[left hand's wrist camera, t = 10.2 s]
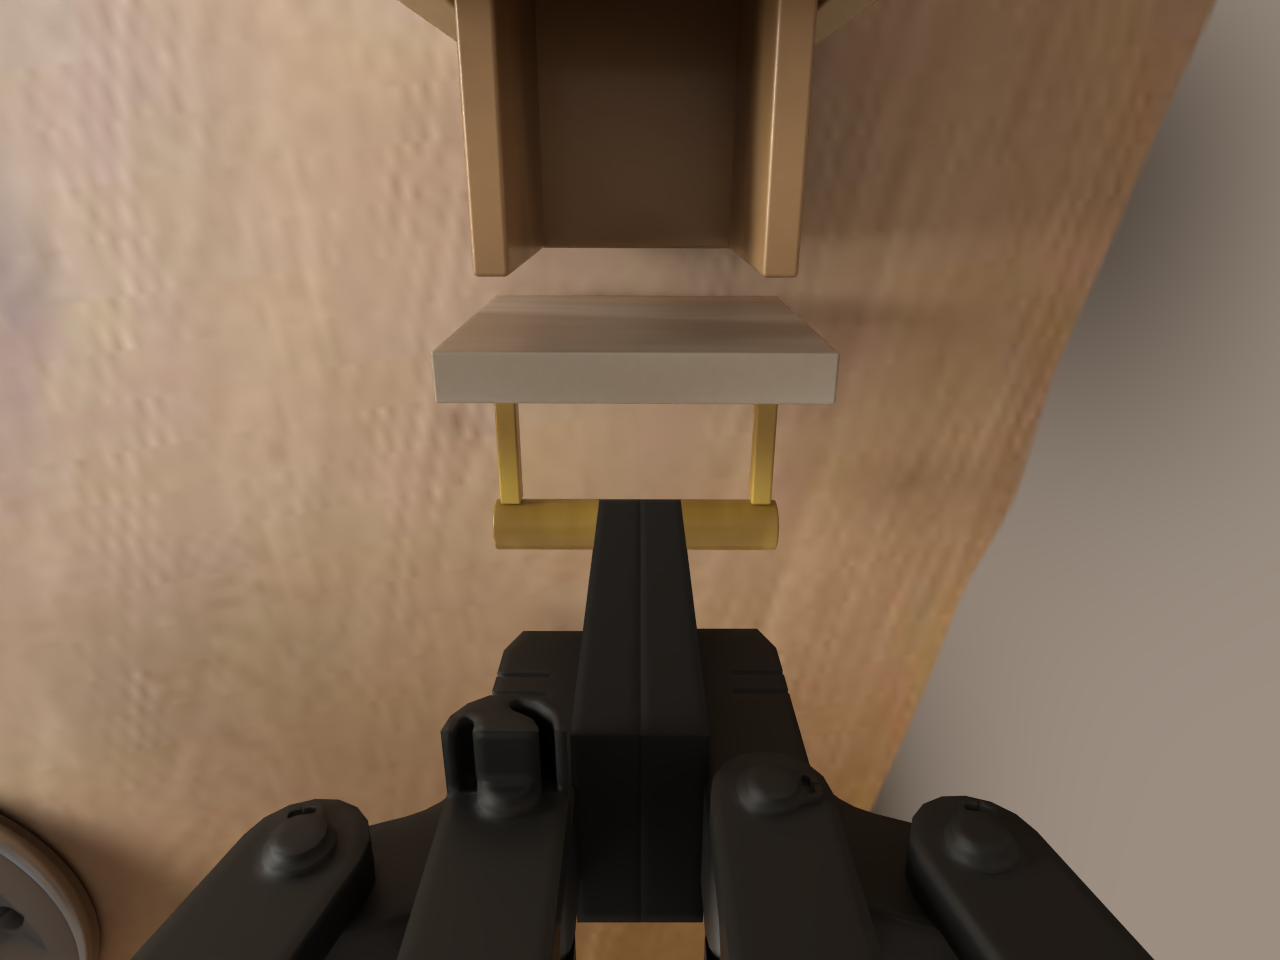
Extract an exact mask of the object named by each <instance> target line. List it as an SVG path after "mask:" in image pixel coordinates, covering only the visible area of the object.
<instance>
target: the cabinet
mask: <svg viewBox="0 0 1280 960" xmlns="http://www.w3.org/2000/svg"><path fill="white" fill-rule="evenodd" d="M398 1H399V2H401V3H402V4H403V5H405V6H406V7H408V8H409V9H411V10H412V11H413V12H415V13H416V14H418V15H419V16H421V17H422V18H423V19H425V20H426V21H428V22H429V23H431V24H432V25H433V26H435V27H436V28H438V29H439V30H441V31H442V32H443V33H445V34H446V35H448V36H449V37H451V38H452V39H453V40H455V41H456V42H457V36H456V22H455V8H454V0H398ZM876 1H878V0H818V7H817V21H816V35H815V45H816V44H817V43H819V42H820V41H822V40H823V39H824V38H826V37H827V36H829V35H830V34H831V33H833V32H834V31H836V30H837V29H838V28H840V27H841V26H843V25H844V24H845V23H847V22H848V21H850V20H851V19H852V18H854V17H855V16H857V15H858V14H859V13H861V12H862V11H864V10H865V9H866V8H868V7H869V6H871V5H872V4H873V3H875V2H876Z"/></svg>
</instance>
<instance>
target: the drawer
mask: <svg viewBox="0 0 1280 960" xmlns="http://www.w3.org/2000/svg"><path fill="white" fill-rule="evenodd" d="M817 7H818V0H454V8H455V22H456V36H457V51H458V65H459V79H460V93H461V107H462V121H463V135H464V149H465V164H466V178H467V192H468V206H469V220H470V234H471V248H472V263H473V273H474V275H476V276H507V275H509V274H510V273H512V272H513V271H514V270H515V269H517V268H518V267H519V266H520V265H522V264H523V263H524V262H525V261H527V260H528V259H529V258H530V257H532V256H533V255H534V254H535V253H537V252H538V251H539V250H541V249H542V248H731V249H732V250H733V251H734V252H736V253H737V254H738V255H739V256H740V257H741V258H743V259H744V260H745V261H746V262H747V263H748V264H750V265H751V266H752V267H753V268H754V269H755V270H757V271H758V272H759V273H760V274H761V275H762V276H764V277H796V276H797V274H798V266H799V253H800V239H801V225H802V212H803V198H804V184H805V171H806V157H807V144H808V130H809V116H810V103H811V89H812V75H813V62H814V48H815V35H816V21H817ZM839 357H840V355H839V353H838V352H837V351H836V350H835V349H834V348H833V347H831V346H830V345H829V344H828V343H827V342H826V341H825V340H824V339H823V338H822V337H821V336H819V335H818V334H817V333H816V332H815V331H814V330H813V329H812V328H811V327H810V326H809V325H808V324H806V323H805V322H804V321H803V320H802V319H801V318H800V317H799V316H798V315H797V314H796V313H794V312H793V311H792V310H791V309H790V308H789V307H788V306H787V305H786V304H785V303H784V302H783V301H781V300H780V299H779V298H778V297H776V296H505V295H497V296H495V297H494V298H493V299H492V300H491V301H490V302H489V303H487V304H486V305H485V306H484V307H483V308H482V309H481V310H479V311H478V312H477V313H476V314H475V315H474V316H473V317H471V318H470V319H469V320H468V321H467V322H466V323H465V324H463V325H462V326H461V327H460V328H459V329H458V330H456V331H455V332H454V333H453V334H452V335H451V336H450V337H448V338H447V339H446V340H445V341H444V342H443V343H442V344H440V345H439V346H438V347H437V348H436V349H435V350H434V351H432V353H431V359H432V370H433V380H434V391H435V401H436V402H437V403H494V405H495V420H496V436H497V451H498V466H499V482H500V497H501V499H497V501H496V503H495V507H494V513H493V538H494V544H495V547H496V548H497V549H593V546H594V538H595V530H596V522H597V514H598V506H599V500H681V506H682V514H683V522H684V530H685V538H686V546H687V550H775V549H776V547H777V543H778V535H779V517H778V508H777V504H776V502H775V500H771V495H772V481H773V466H774V451H775V437H776V422H777V408H778V404H834V403H835V399H836V389H837V378H838V368H839ZM518 403H616V404H754V420H753V437H752V455H751V472H750V490H749V498H750V500H709V499H522V497H523V486H522V468H521V449H520V431H519V412H518Z"/></svg>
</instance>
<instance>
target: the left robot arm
mask: <svg viewBox="0 0 1280 960" xmlns="http://www.w3.org/2000/svg"><path fill="white" fill-rule="evenodd" d="M782 671H783V670H782V667H781V663H780V660H779V656H778V653H777V649H776V647H775V646H774V645H773V644H772V643H771V642H770V641H769V640H768V639H767V638H766V637H765V636H764V635H763V634H762V633H761V632H760V631H759V630H758V629H697V626H696V618H695V610H694V602H693V594H692V586H691V578H690V570H689V562H688V554H687V546H686V538H685V530H684V522H683V514H682V506H681V500H599V506H598V514H597V522H596V530H595V538H594V546H593V554H592V562H591V570H590V578H589V586H588V594H587V602H586V610H585V618H584V626H583V631H523V632H522V633H521V634H520V635H519V636H518V637H517V638H516V639H515V640H514V641H513V642H512V643H511V644H510V645H509V646H508V647H507V648H506V649H505V650H504V652H503V656H502V659H501V663H500V666H499V670H498V677H496V680H495V684H494V688H493V691H492V695H490V696H487V697H484V698H481V699H479V700H476V701H473V702H471V703H468V704H467V705H465V706H464V707H462V708H461V709H460V710H458V711H457V712H455V713H454V714H453V715H451V716H450V718H449V719H448V721H447V722H446V724H445V725H444V727H443V728H442V730H441V740H442V749H443V758H444V767H445V776H446V785H447V797H446V798H445V799H444V800H443V801H441V802H440V803H438V804H436V805H434V806H432V807H430V808H428V809H426V810H424V811H421V812H418V813H415V814H412V815H409V816H407V817H403V818H399V819H395V820H391V821H387V822H383V823H379V824H375V825H371V826H369V824H368V820H367V819H366V818H365V816H364V815H363V814H362V813H361V811H360V810H359V809H358V808H357V807H355V806H353V805H350V804H348V803H346V802H343V801H341V800H330V799H313V800H309V801H305V802H301V803H296V804H292V805H289V806H287V807H285V808H283V809H281V810H279V811H277V812H275V813H273V814H271V815H269V816H267V817H265V818H263V819H262V820H261V821H260V822H259V823H257V824H256V825H255V826H254V827H253V828H251V829H250V830H249V831H248V832H247V833H245V834H244V835H243V836H242V837H241V839H240V840H239V841H238V842H237V843H236V844H235V845H234V846H233V847H232V848H231V850H230V851H229V852H228V853H227V854H226V855H225V856H224V857H223V858H222V859H221V861H220V862H219V863H218V864H217V865H216V866H215V867H214V868H213V869H212V870H211V872H210V873H209V874H208V875H207V876H206V877H205V878H204V879H203V880H202V881H201V883H200V884H199V885H198V886H197V887H196V888H195V889H194V890H193V891H192V892H191V894H190V895H189V896H188V897H187V898H186V899H185V900H184V901H183V902H182V903H181V905H180V906H179V907H178V908H177V909H176V910H175V911H174V912H173V913H172V915H171V916H170V917H169V918H168V919H167V920H166V921H165V922H164V923H163V924H162V926H161V927H160V928H159V929H158V930H157V931H156V932H155V933H154V934H153V935H152V937H151V938H150V939H149V940H148V941H147V942H146V943H145V944H144V945H143V946H142V948H141V949H140V950H139V951H138V952H137V953H136V954H135V955H134V956H133V957H132V959H131V960H576V948H575V928H576V916H577V922H703V912H704V924H705V948H704V960H1154V959H1153V958H1152V957H1151V956H1150V955H1149V954H1148V952H1147V951H1146V950H1145V949H1144V948H1143V947H1142V946H1141V945H1140V944H1139V943H1138V942H1137V940H1136V939H1135V938H1134V937H1133V936H1132V935H1131V934H1130V933H1129V932H1128V931H1127V930H1126V928H1125V927H1124V926H1123V925H1122V924H1121V923H1120V922H1119V921H1118V920H1117V919H1116V917H1115V916H1114V915H1113V914H1112V913H1111V912H1110V911H1109V910H1108V909H1107V908H1106V907H1105V905H1104V904H1103V903H1102V902H1101V901H1100V900H1099V899H1098V898H1097V897H1096V896H1095V895H1094V893H1093V892H1092V891H1091V890H1090V889H1089V888H1088V887H1087V886H1086V885H1085V884H1084V882H1083V881H1082V880H1081V879H1080V878H1079V877H1078V876H1077V875H1076V874H1075V873H1074V872H1073V870H1072V869H1071V868H1070V867H1069V866H1068V865H1067V864H1066V863H1065V862H1064V861H1063V860H1062V858H1061V857H1060V856H1059V855H1058V854H1057V853H1056V852H1055V851H1054V850H1053V849H1052V847H1051V846H1050V845H1049V844H1048V843H1047V842H1046V841H1045V840H1044V839H1043V838H1042V837H1041V835H1040V834H1039V833H1038V832H1037V831H1036V830H1034V829H1033V828H1032V827H1031V826H1030V825H1028V824H1027V823H1026V822H1025V821H1024V820H1022V819H1021V818H1020V817H1019V816H1018V815H1016V814H1015V813H1013V812H1011V811H1009V810H1007V809H1004V808H1002V807H1000V806H998V805H996V804H994V803H992V802H989V801H985V800H981V799H977V798H972V797H968V796H943V797H939V798H937V799H934V800H932V801H930V802H927V803H925V804H923V805H922V806H921V808H920V809H919V810H918V811H917V813H916V814H915V815H914V816H913V818H912V823H910V822H906V821H902V820H898V819H894V818H890V817H886V816H882V815H877V814H874V813H871V812H868V811H865V810H862V809H859V808H856V807H854V806H852V805H850V804H848V803H846V802H845V801H843V800H841V799H839V798H837V797H836V796H835V795H834V794H833V793H832V791H831V789H830V787H829V786H828V784H827V782H826V780H825V779H824V777H823V776H822V775H821V774H820V773H818V772H817V771H816V770H815V769H813V768H812V767H811V766H810V764H809V761H808V758H807V754H806V751H805V747H804V744H803V740H802V737H801V733H800V730H799V726H798V723H797V719H796V716H795V712H794V709H793V705H792V702H791V698H790V695H789V694H788V688H787V684H786V681H785V677H784V675H783V672H782ZM99 950H100V931H99V924H98V920H97V917H96V913H95V910H94V908H93V905H92V903H91V900H90V898H89V897H88V895H87V893H86V891H85V889H84V887H83V886H82V885H81V883H80V882H79V880H78V879H77V877H76V876H75V875H74V873H73V872H72V871H71V870H70V868H69V867H68V866H67V865H66V864H65V863H64V862H63V861H62V860H61V859H60V858H59V857H58V856H57V854H56V853H55V852H53V851H52V850H51V849H50V848H49V847H48V846H47V845H45V844H44V843H43V842H42V841H41V840H39V839H38V838H37V837H35V836H34V835H33V834H31V833H30V832H29V831H27V830H26V829H24V828H23V827H21V826H20V825H18V824H16V823H15V822H13V821H11V820H10V819H8V818H6V817H4V816H3V815H1V814H0V960H98V957H99Z"/></svg>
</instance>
